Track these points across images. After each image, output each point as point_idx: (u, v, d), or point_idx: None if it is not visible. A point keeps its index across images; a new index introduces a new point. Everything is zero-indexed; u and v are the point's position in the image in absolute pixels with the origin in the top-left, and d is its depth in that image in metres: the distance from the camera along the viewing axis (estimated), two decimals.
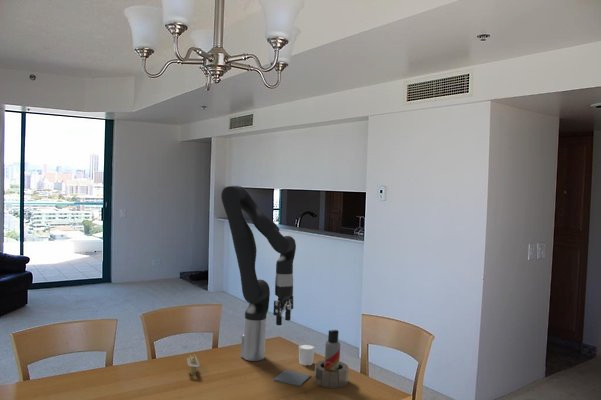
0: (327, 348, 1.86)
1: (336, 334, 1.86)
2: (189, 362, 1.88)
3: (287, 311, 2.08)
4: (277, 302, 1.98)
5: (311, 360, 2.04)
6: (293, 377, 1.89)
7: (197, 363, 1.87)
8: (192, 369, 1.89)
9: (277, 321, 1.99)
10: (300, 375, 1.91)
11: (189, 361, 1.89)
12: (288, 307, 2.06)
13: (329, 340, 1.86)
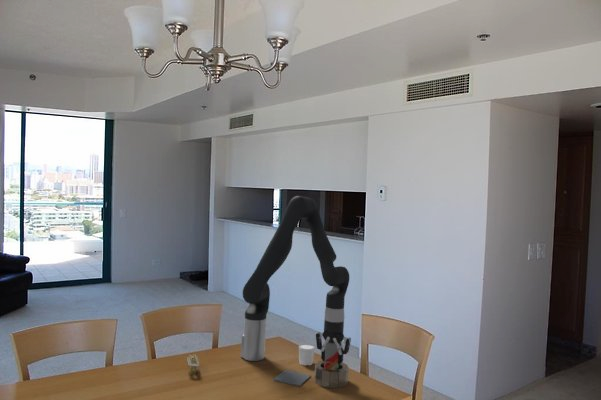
0: (327, 348, 1.86)
1: None
2: (189, 361, 1.89)
3: None
4: (350, 340, 1.85)
5: (311, 360, 2.04)
6: (293, 377, 1.89)
7: (197, 362, 1.88)
8: (192, 368, 1.90)
9: (342, 360, 1.86)
10: (300, 375, 1.91)
11: (189, 360, 1.90)
12: None
13: (329, 340, 1.86)
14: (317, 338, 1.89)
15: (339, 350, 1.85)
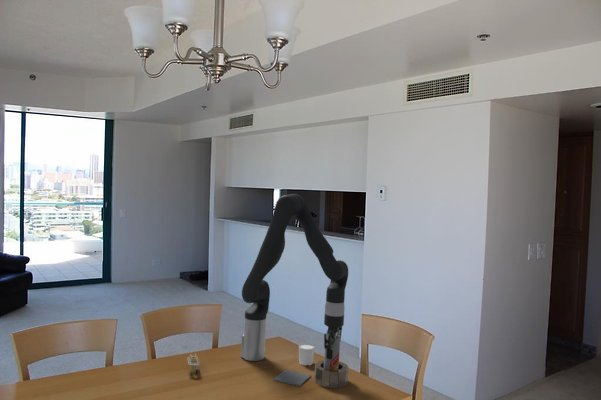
0: (337, 343, 1.85)
1: None
2: (189, 361, 1.89)
3: None
4: None
5: (311, 360, 2.04)
6: (293, 377, 1.89)
7: (197, 362, 1.88)
8: (192, 368, 1.90)
9: None
10: (300, 375, 1.91)
11: (189, 360, 1.90)
12: None
13: None
14: (330, 339, 1.82)
15: None
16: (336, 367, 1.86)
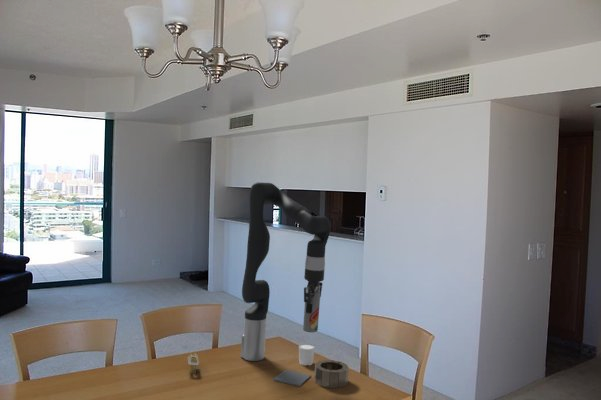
0: (317, 298, 1.86)
1: None
2: (189, 360, 1.90)
3: None
4: None
5: (311, 360, 2.04)
6: (293, 377, 1.89)
7: (197, 361, 1.89)
8: (192, 367, 1.91)
9: None
10: (300, 375, 1.91)
11: (189, 359, 1.91)
12: None
13: None
14: (310, 293, 1.82)
15: None
16: (316, 321, 1.86)
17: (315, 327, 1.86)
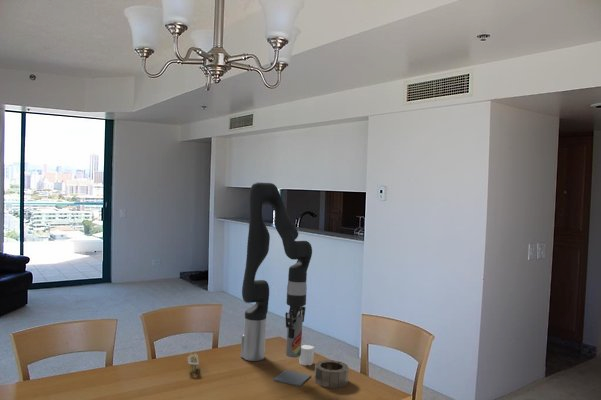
0: (299, 322, 1.86)
1: None
2: (189, 360, 1.90)
3: None
4: None
5: (311, 360, 2.04)
6: (293, 377, 1.89)
7: (197, 361, 1.89)
8: (192, 367, 1.91)
9: None
10: (300, 375, 1.91)
11: (189, 359, 1.91)
12: None
13: None
14: (292, 318, 1.83)
15: None
16: (298, 346, 1.87)
17: (298, 352, 1.87)
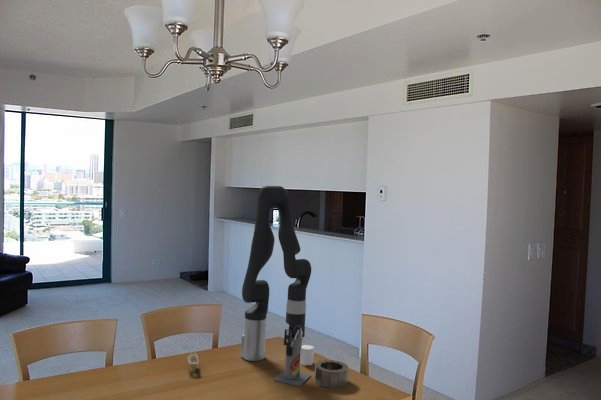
0: (298, 344, 1.86)
1: None
2: (189, 359, 1.91)
3: None
4: None
5: (311, 360, 2.04)
6: None
7: (196, 361, 1.90)
8: (192, 366, 1.92)
9: None
10: (300, 375, 1.91)
11: (189, 358, 1.92)
12: None
13: None
14: (290, 335, 1.82)
15: (301, 336, 1.92)
16: (297, 368, 1.87)
17: (296, 374, 1.87)
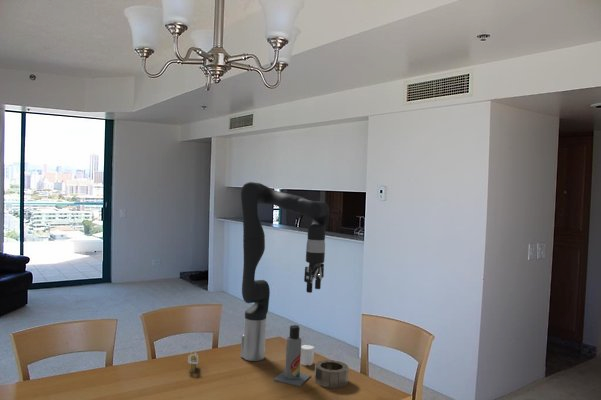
0: (298, 345, 1.87)
1: None
2: (189, 359, 1.91)
3: None
4: None
5: (311, 360, 2.04)
6: None
7: (196, 360, 1.90)
8: (192, 366, 1.92)
9: None
10: (300, 375, 1.91)
11: (189, 358, 1.92)
12: (309, 276, 1.95)
13: (297, 336, 1.87)
14: (311, 272, 1.91)
15: (320, 276, 2.00)
16: (297, 368, 1.87)
17: (296, 374, 1.87)
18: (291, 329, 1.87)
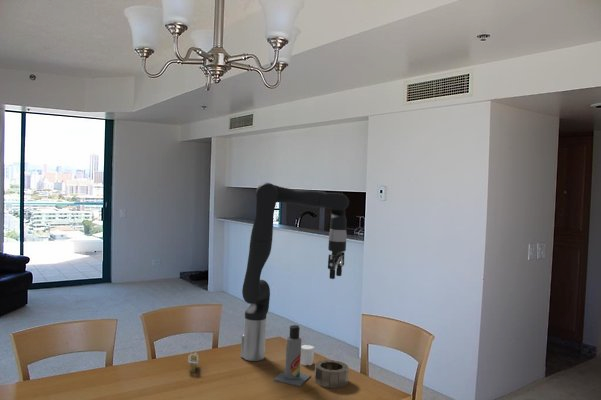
0: (298, 345, 1.87)
1: None
2: (189, 359, 1.91)
3: None
4: None
5: (311, 360, 2.04)
6: None
7: (196, 360, 1.90)
8: None
9: None
10: (300, 375, 1.91)
11: (189, 358, 1.92)
12: (332, 264, 2.08)
13: (297, 336, 1.87)
14: (334, 259, 2.04)
15: (341, 264, 2.14)
16: (297, 368, 1.87)
17: (296, 374, 1.87)
18: (291, 329, 1.87)
